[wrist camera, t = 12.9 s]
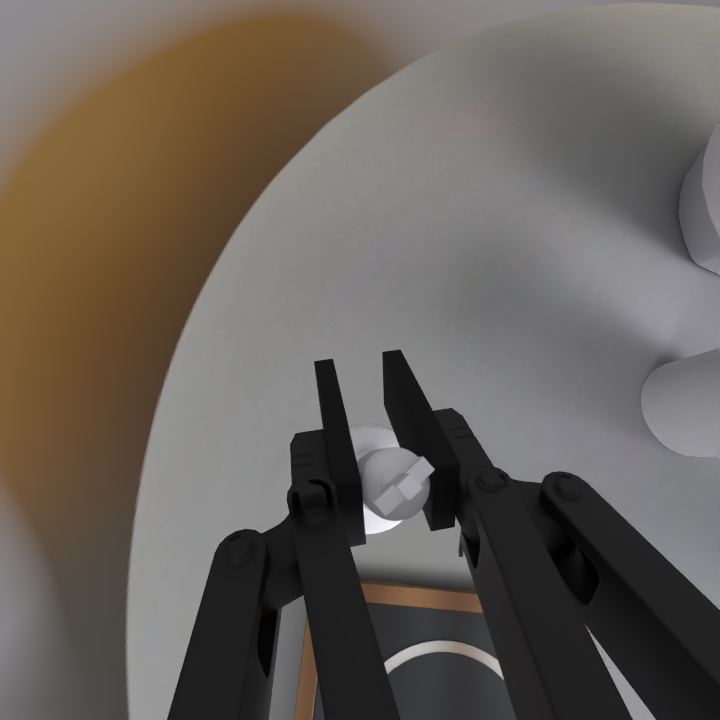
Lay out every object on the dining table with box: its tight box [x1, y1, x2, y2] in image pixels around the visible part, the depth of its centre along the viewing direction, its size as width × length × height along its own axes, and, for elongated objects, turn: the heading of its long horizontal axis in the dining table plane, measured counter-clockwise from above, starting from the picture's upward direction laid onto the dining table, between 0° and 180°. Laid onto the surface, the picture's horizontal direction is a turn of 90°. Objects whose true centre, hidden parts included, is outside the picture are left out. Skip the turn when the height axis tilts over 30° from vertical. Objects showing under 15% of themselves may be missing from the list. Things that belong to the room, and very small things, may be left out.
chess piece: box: [349, 424, 435, 534], centre depth 15 cm, size 5×5×10 cm
